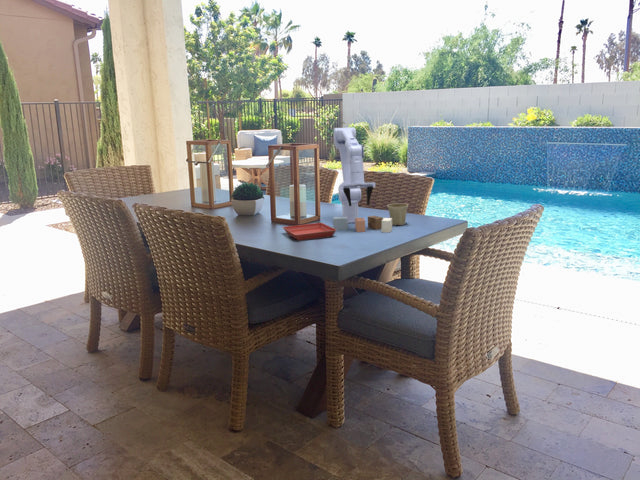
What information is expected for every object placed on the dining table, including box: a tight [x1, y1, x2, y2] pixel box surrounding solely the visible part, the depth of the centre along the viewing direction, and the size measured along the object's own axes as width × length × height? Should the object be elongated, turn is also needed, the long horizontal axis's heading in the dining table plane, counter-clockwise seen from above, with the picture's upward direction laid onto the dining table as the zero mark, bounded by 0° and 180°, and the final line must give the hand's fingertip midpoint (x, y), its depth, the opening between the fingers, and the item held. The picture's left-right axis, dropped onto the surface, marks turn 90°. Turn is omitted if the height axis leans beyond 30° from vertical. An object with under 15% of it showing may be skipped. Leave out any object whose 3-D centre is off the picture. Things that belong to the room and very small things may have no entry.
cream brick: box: [381, 217, 393, 233], centre depth 222 cm, size 6×4×5 cm, turn 163°
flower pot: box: [386, 202, 409, 226], centre depth 234 cm, size 9×9×9 cm
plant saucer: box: [282, 222, 337, 241], centre depth 220 cm, size 18×18×3 cm
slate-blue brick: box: [332, 216, 349, 231], centre depth 229 cm, size 6×4×5 cm, turn 83°
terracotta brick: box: [354, 217, 366, 233], centre depth 225 cm, size 6×4×5 cm, turn 3°
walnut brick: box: [367, 215, 384, 231], centre depth 228 cm, size 6×4×5 cm, turn 33°
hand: (359, 205), depth 222 cm, fingers open, 7 cm apart
